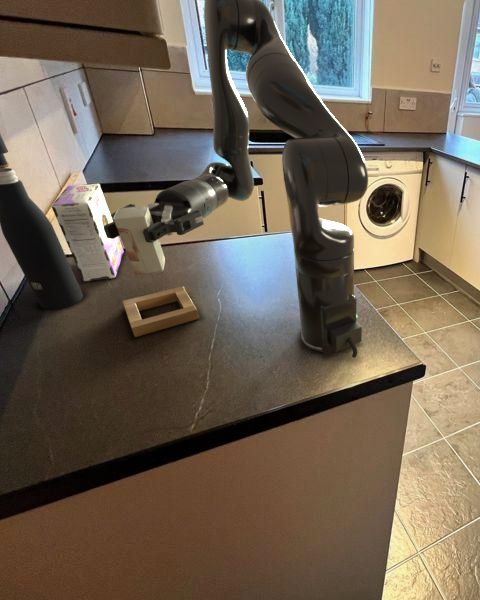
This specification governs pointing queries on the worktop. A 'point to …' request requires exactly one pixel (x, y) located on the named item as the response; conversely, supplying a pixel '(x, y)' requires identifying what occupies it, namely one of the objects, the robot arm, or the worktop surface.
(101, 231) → the candy box
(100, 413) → the worktop surface
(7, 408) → the worktop surface
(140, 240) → the white tall rectangular block
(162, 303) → the frame
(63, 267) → the dark grey bottle
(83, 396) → the worktop surface
